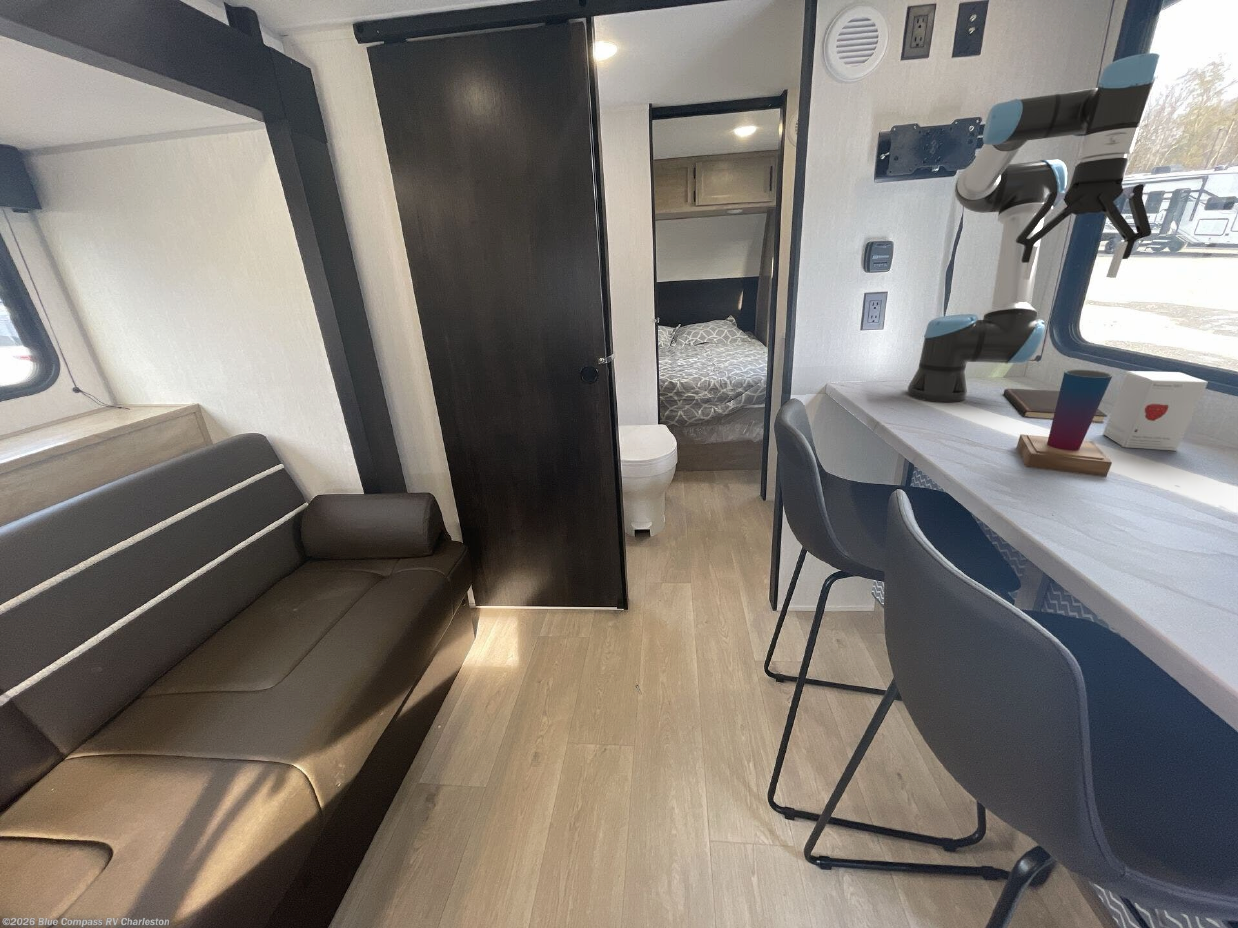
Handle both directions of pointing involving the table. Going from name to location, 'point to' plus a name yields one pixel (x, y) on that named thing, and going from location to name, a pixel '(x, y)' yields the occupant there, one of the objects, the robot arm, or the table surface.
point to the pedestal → (1063, 456)
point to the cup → (1077, 407)
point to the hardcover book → (1039, 403)
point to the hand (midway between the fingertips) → (1066, 278)
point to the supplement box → (1154, 409)
